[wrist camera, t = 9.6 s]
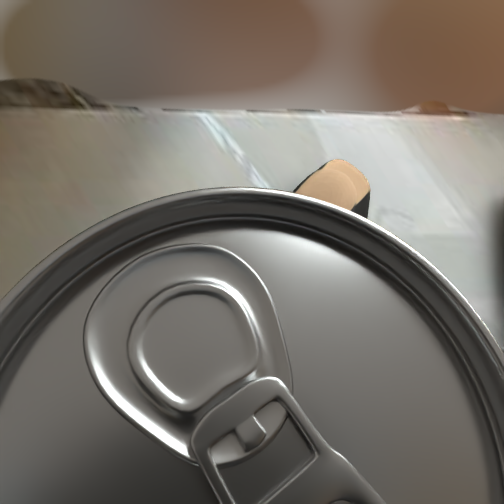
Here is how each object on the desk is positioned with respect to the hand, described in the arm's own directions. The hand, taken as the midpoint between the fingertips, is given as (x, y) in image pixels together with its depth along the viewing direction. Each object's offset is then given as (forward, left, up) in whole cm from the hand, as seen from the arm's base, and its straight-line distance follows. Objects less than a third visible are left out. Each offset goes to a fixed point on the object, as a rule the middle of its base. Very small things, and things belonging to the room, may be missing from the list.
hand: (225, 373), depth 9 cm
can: (-1, -1, -7) cm, 7 cm away
